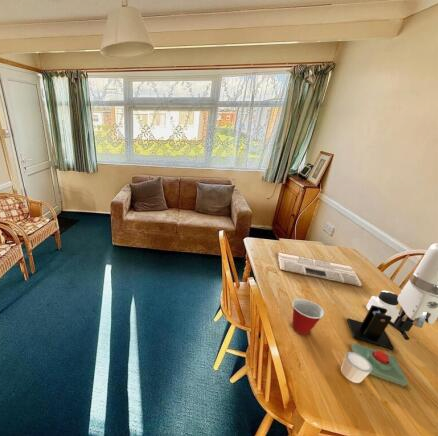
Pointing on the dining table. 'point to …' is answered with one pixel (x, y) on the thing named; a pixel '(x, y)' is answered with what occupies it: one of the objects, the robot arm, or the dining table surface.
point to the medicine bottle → (386, 303)
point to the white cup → (355, 367)
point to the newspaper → (318, 269)
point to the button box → (382, 365)
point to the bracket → (372, 328)
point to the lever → (394, 326)
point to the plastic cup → (305, 315)
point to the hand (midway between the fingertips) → (400, 327)
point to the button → (381, 357)
